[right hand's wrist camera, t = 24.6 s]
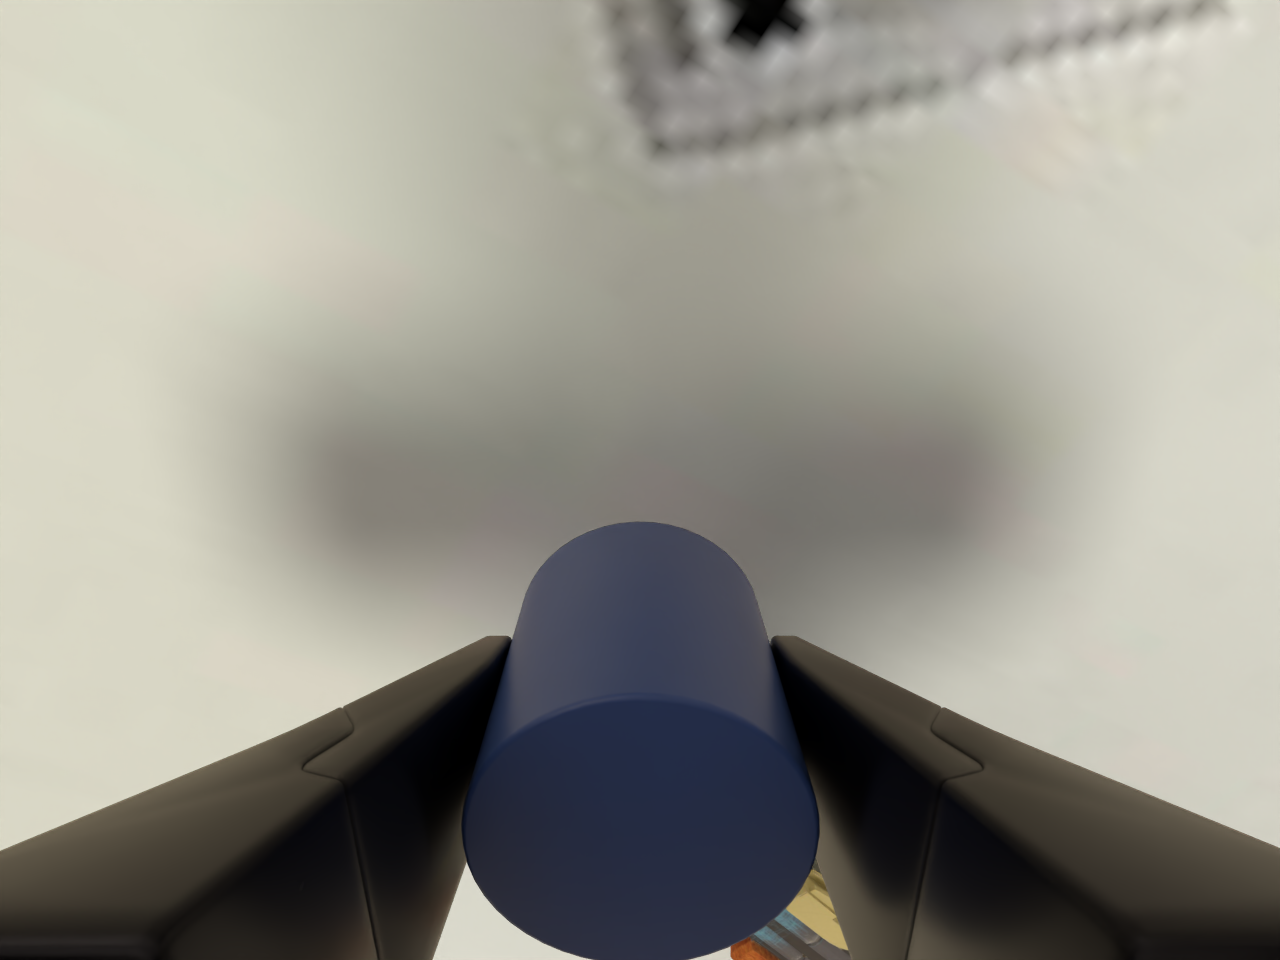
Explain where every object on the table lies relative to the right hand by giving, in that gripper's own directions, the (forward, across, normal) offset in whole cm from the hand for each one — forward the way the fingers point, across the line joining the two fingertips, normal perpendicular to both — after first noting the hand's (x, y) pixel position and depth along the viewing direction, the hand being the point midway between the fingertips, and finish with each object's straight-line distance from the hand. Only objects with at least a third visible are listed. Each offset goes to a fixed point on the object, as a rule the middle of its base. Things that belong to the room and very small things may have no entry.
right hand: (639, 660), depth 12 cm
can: (+1, 0, 0) cm, 1 cm away
